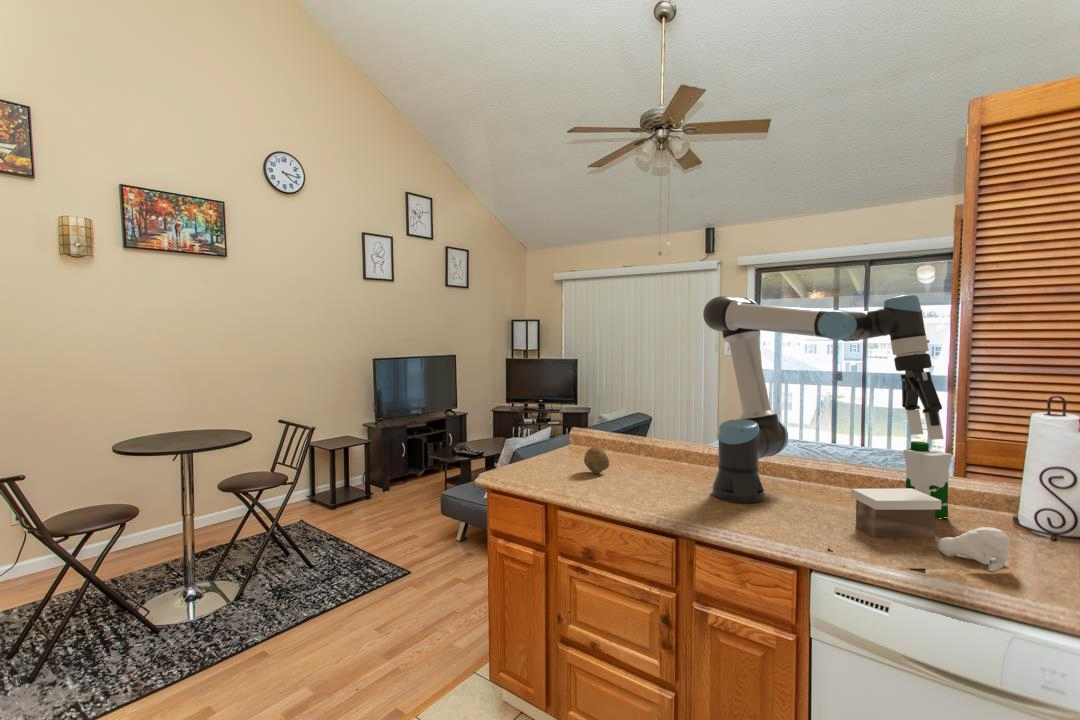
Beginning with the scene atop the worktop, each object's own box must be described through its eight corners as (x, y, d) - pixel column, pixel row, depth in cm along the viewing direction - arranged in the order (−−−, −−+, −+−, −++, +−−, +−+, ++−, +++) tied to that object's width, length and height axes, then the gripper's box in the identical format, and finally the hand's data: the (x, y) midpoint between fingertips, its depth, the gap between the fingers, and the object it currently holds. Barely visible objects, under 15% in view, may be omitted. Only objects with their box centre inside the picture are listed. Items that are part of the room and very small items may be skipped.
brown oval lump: (579, 471, 185) (579, 445, 184) (599, 468, 189) (599, 443, 188) (591, 477, 177) (591, 450, 176) (612, 474, 180) (612, 447, 180)
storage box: (855, 528, 128) (856, 498, 128) (910, 528, 128) (910, 497, 128) (876, 540, 120) (877, 508, 120) (934, 540, 120) (935, 508, 120)
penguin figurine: (1008, 535, 101) (934, 525, 110) (1013, 576, 101) (938, 564, 109) (1008, 526, 106) (937, 518, 114) (1012, 566, 106) (941, 555, 114)
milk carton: (921, 508, 142) (923, 440, 142) (955, 519, 134) (957, 446, 133) (897, 511, 140) (899, 442, 139) (930, 523, 131) (932, 448, 130)
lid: (851, 500, 129) (851, 488, 128) (911, 499, 128) (911, 488, 128) (876, 513, 119) (876, 500, 119) (941, 512, 119) (941, 500, 119)
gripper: (948, 349, 115) (965, 440, 113) (912, 355, 138) (926, 431, 136) (910, 353, 118) (926, 442, 116) (880, 359, 141) (894, 433, 139)
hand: (926, 436), depth 126 cm, fingers open, 13 cm apart
